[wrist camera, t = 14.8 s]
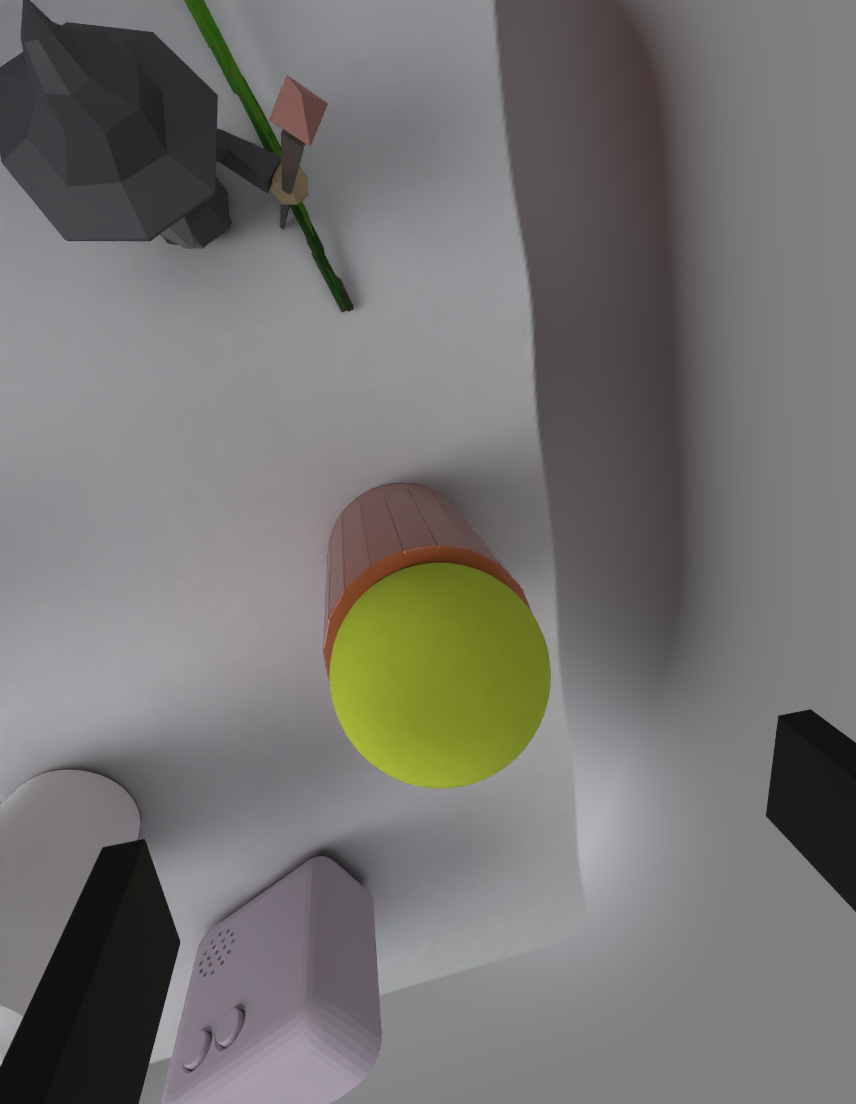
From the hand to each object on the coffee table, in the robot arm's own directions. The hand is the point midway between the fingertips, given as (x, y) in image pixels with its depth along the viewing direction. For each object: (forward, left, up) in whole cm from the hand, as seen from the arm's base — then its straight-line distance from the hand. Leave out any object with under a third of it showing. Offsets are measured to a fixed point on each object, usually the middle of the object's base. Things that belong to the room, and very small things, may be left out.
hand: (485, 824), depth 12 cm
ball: (0, 0, -7) cm, 7 cm away
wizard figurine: (-16, -5, -18) cm, 25 cm away
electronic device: (+21, -10, -18) cm, 30 cm away
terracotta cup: (0, 0, -18) cm, 18 cm away
